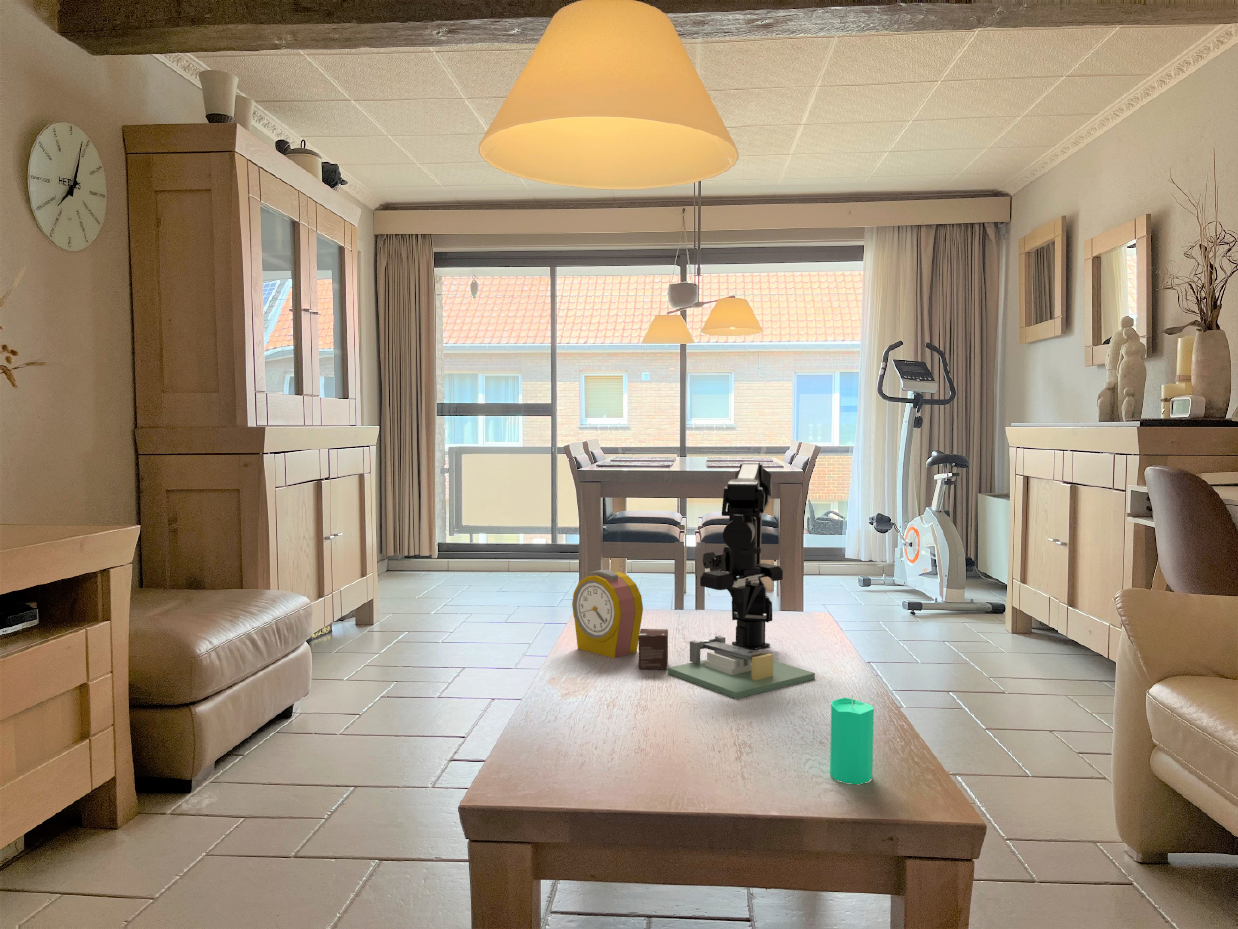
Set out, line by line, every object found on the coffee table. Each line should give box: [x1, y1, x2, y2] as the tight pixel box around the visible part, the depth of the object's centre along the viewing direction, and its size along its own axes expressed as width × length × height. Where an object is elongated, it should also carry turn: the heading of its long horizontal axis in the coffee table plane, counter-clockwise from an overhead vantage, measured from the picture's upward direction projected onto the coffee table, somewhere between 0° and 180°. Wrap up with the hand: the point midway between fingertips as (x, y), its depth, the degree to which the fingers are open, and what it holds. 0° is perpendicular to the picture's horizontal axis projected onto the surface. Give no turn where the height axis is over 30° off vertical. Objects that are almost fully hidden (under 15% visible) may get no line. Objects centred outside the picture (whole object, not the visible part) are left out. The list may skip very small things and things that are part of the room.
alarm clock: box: [571, 569, 644, 659], centre depth 190 cm, size 15×8×18 cm, turn 47°
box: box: [638, 628, 669, 671], centre depth 178 cm, size 6×6×7 cm
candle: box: [829, 694, 875, 784], centre depth 121 cm, size 6×6×12 cm
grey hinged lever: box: [699, 638, 767, 661], centre depth 173 cm, size 5×16×2 cm, turn 36°
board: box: [667, 635, 816, 700], centre depth 171 cm, size 22×21×6 cm
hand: (741, 617), depth 172 cm, fingers closed
